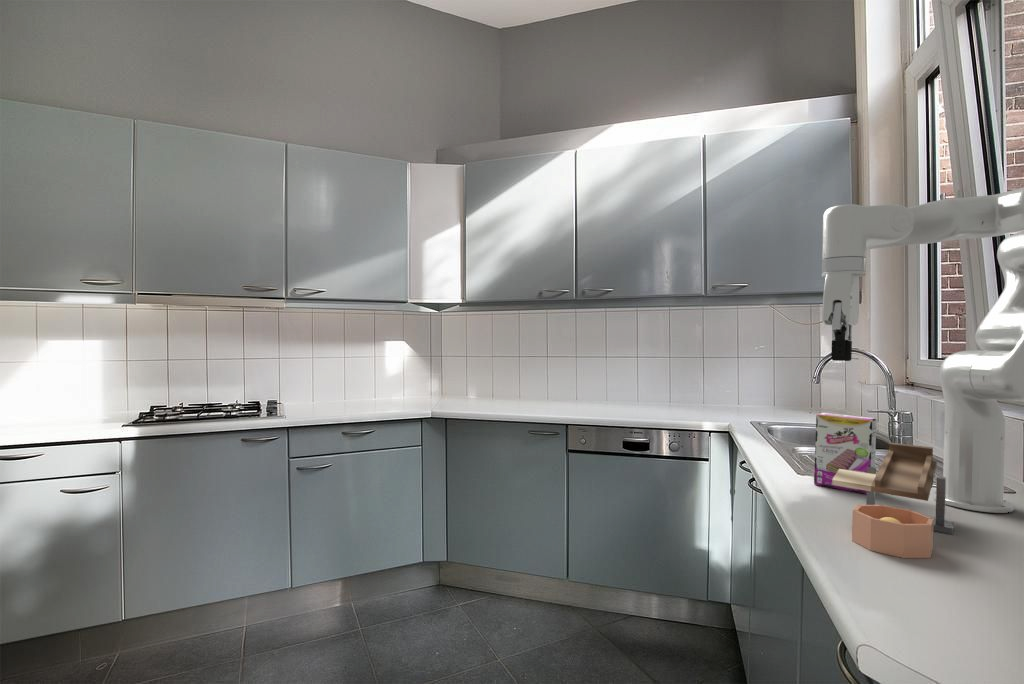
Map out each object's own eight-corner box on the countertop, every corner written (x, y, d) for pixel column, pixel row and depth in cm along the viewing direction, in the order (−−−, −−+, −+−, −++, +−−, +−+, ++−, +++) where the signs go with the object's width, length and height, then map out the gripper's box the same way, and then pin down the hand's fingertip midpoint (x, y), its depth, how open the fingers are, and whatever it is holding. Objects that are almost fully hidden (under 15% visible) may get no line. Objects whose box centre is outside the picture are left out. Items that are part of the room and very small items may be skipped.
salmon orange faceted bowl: (860, 529, 95) (860, 501, 95) (934, 545, 88) (935, 514, 88) (848, 545, 87) (849, 514, 87) (928, 563, 81) (929, 530, 81)
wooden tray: (851, 470, 114) (851, 437, 113) (936, 482, 105) (936, 447, 104) (832, 502, 101) (831, 466, 100) (927, 520, 91) (928, 480, 90)
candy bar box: (813, 485, 125) (814, 413, 125) (819, 481, 129) (820, 412, 129) (870, 495, 117) (872, 419, 117) (875, 491, 121) (877, 417, 121)
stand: (861, 510, 107) (862, 464, 107) (953, 527, 97) (955, 477, 97) (857, 515, 103) (858, 468, 103) (952, 534, 94) (953, 482, 94)
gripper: (830, 273, 117) (828, 359, 117) (813, 265, 106) (811, 360, 106) (872, 271, 112) (869, 361, 112) (858, 262, 101) (856, 362, 101)
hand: (841, 360), depth 109 cm, fingers closed
